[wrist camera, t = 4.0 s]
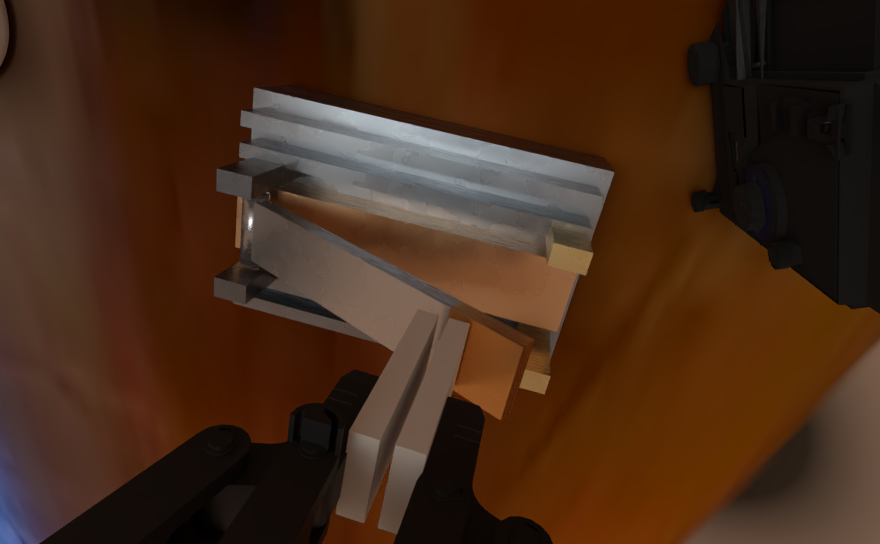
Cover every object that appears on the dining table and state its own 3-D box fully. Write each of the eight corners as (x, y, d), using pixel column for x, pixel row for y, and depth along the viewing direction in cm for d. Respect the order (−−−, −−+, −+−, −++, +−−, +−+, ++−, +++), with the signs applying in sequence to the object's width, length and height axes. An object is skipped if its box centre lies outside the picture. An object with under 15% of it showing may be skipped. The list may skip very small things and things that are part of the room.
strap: (255, 254, 26) (234, 258, 25) (259, 186, 25) (237, 188, 24) (512, 414, 18) (495, 429, 17) (540, 330, 17) (522, 341, 16)
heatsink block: (275, 274, 34) (190, 340, 25) (289, 85, 29) (191, 91, 21) (542, 345, 32) (544, 441, 24) (604, 158, 27) (633, 197, 19)
